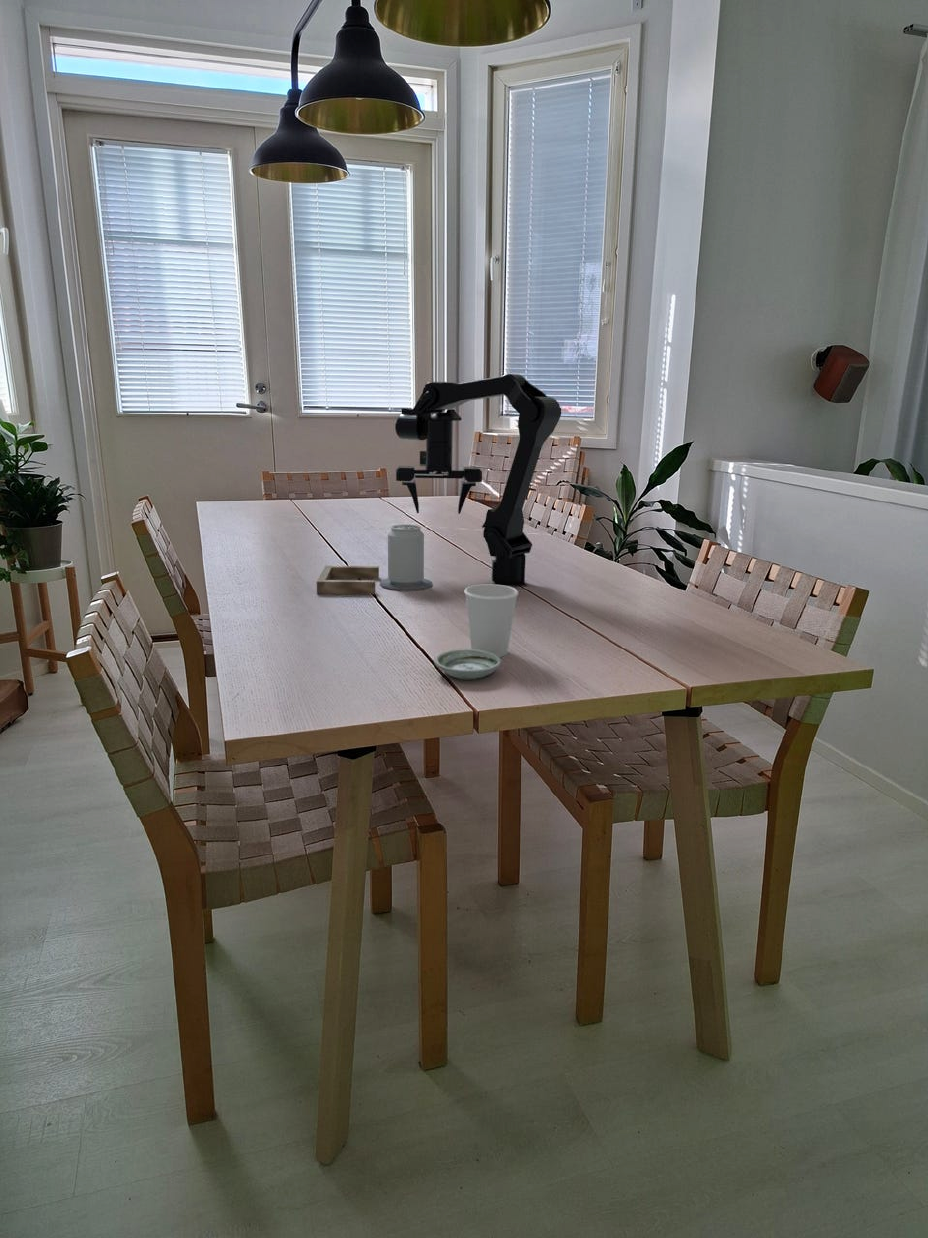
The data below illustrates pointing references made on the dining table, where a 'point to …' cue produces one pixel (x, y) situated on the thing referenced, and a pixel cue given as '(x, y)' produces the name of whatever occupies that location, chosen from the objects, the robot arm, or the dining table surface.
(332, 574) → the wooden frame
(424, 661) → the dining table surface
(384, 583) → the pad
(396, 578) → the can
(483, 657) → the saucer
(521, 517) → the robot arm
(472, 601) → the dixie cup
